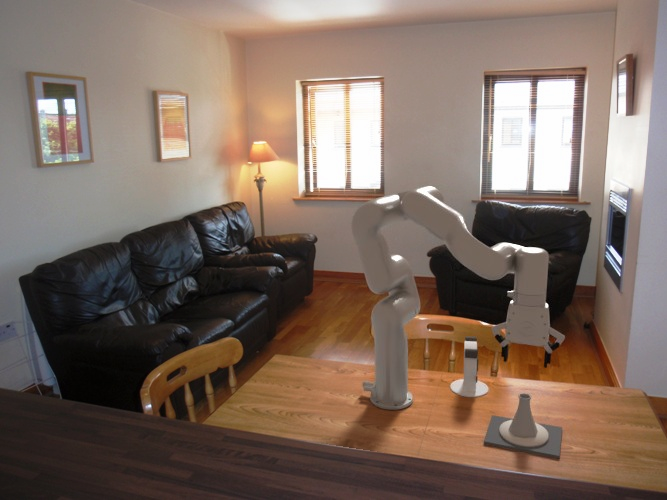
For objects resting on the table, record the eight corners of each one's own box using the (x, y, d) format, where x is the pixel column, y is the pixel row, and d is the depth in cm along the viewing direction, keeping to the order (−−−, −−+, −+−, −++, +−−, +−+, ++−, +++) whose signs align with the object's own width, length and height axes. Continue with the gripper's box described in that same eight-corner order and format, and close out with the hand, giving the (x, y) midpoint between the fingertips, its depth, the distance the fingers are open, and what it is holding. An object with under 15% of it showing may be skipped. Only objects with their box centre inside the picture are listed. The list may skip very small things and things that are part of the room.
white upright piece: (489, 399, 169) (491, 352, 166) (449, 396, 172) (450, 349, 168) (487, 381, 180) (489, 336, 177) (450, 378, 183) (451, 334, 179)
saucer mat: (483, 444, 147) (483, 438, 146) (491, 417, 159) (492, 412, 159) (559, 458, 140) (559, 453, 139) (561, 430, 152) (562, 424, 152)
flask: (539, 440, 145) (542, 403, 143) (509, 437, 146) (511, 401, 144) (535, 425, 152) (537, 390, 150) (507, 422, 153) (508, 388, 151)
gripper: (490, 298, 141) (487, 363, 145) (566, 306, 134) (561, 374, 138) (495, 290, 148) (492, 352, 152) (568, 297, 141) (563, 362, 145)
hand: (525, 362), depth 145 cm, fingers open, 9 cm apart
